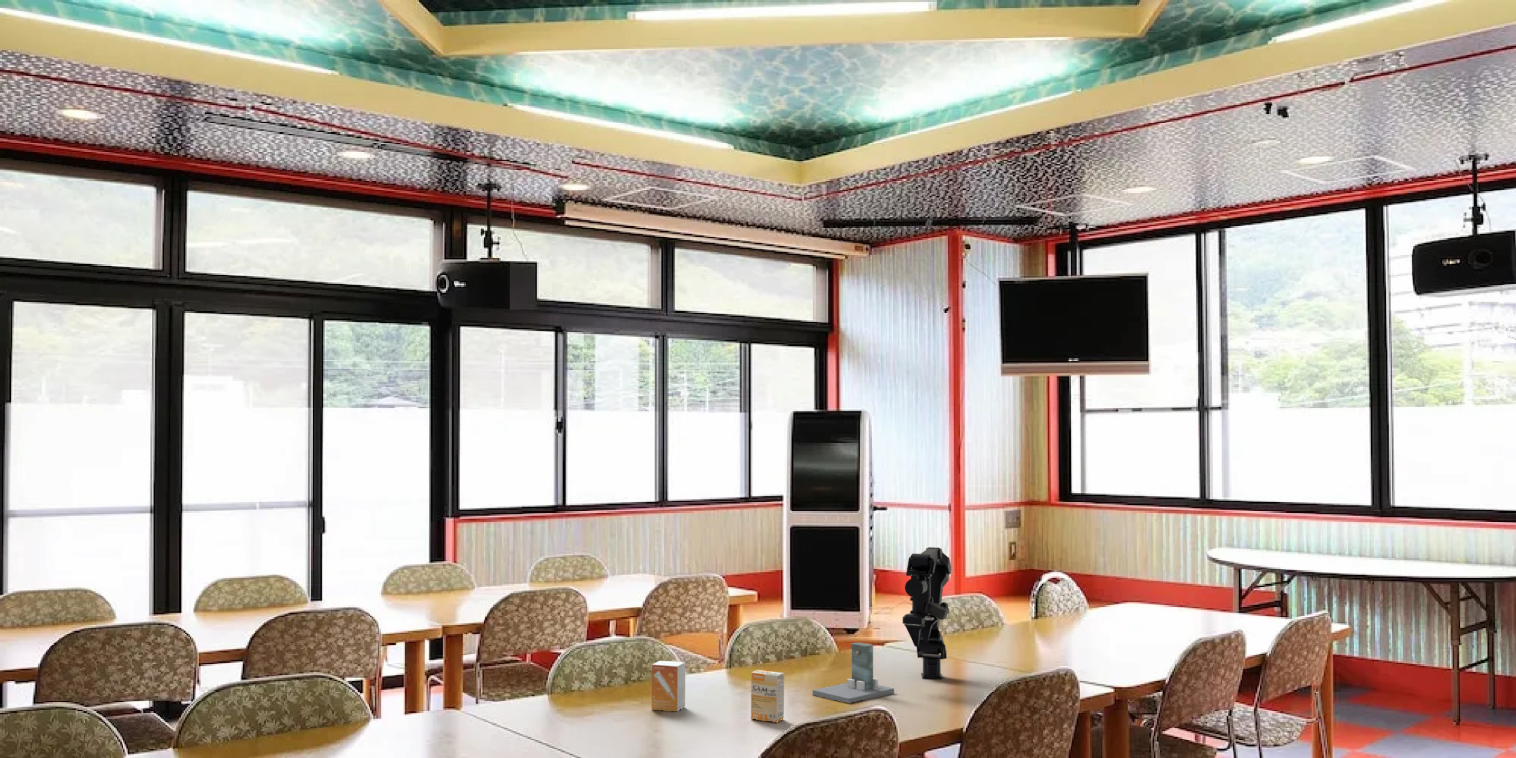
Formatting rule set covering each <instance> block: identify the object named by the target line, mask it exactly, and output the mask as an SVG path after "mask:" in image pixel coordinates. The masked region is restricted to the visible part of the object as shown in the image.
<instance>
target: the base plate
mask: <svg viewBox="0 0 1516 758" xmlns="http://www.w3.org/2000/svg"><path fill="white" fill-rule="evenodd" d="M894 694H895V688H894V687H889V686H884V685H880V684H879V679H878V678H875V677H873V688H872V689H867V690H866V689H865V682H863V681H857V687H855V680H853V679H852V678H847V679H846V682H844V683H840V684H836V685H831V686H827V687H820V688H816V689H812V696H814V695H816V696H815V697H819V698H822V697H825V698H824V699H827V698H828V699H827V700H831V701H835V700H837V702H839V701H841V702H840V703H843V702H847V703H846V704H848V703H850V702H855V703H858V702H857V701H859V702H861V701H860V700H863V701H866V700H872V699H876V698H881V697H885V696H889V695H894ZM850 704H851V703H850Z"/></svg>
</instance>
